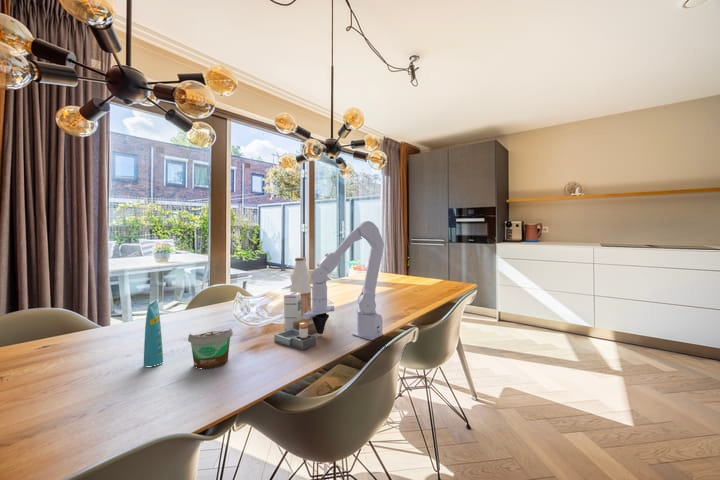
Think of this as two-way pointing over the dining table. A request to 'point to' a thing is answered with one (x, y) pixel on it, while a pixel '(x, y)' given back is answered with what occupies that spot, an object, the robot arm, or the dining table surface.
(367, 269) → the robot arm
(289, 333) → the tray
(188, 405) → the dining table surface
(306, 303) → the fruit juice
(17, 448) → the dining table surface
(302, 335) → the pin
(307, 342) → the socket
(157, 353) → the tube
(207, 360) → the food container
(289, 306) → the syrup box
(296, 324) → the chock
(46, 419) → the dining table surface
